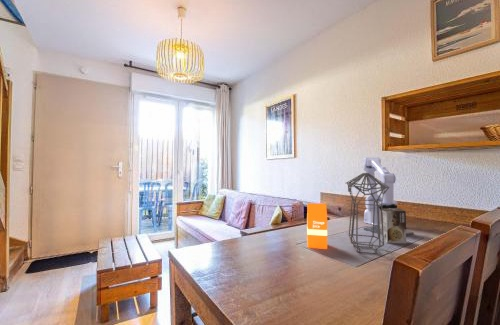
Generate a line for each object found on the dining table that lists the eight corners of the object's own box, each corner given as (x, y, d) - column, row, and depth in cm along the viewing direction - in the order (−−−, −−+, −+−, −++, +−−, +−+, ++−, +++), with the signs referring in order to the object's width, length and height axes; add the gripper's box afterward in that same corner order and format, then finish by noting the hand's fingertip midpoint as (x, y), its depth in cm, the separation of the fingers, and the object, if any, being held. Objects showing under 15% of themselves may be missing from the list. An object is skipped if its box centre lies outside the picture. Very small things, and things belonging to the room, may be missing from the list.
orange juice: (327, 249, 108) (327, 205, 108) (307, 247, 110) (307, 204, 110) (325, 243, 116) (325, 202, 116) (306, 242, 117) (306, 201, 118)
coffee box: (399, 239, 122) (399, 208, 122) (406, 244, 115) (406, 210, 115) (381, 239, 123) (381, 208, 123) (387, 243, 116) (386, 210, 116)
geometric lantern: (379, 246, 112) (380, 172, 112) (389, 259, 97) (391, 174, 96) (343, 242, 116) (345, 171, 116) (348, 255, 101) (349, 173, 101)
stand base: (363, 229, 141) (363, 221, 141) (383, 226, 149) (383, 218, 149) (393, 237, 125) (393, 228, 125) (413, 233, 133) (413, 225, 133)
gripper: (386, 195, 131) (386, 220, 130) (402, 194, 137) (402, 218, 137) (374, 194, 137) (374, 217, 137) (390, 193, 143) (390, 215, 143)
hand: (387, 217), depth 137 cm, fingers open, 5 cm apart
